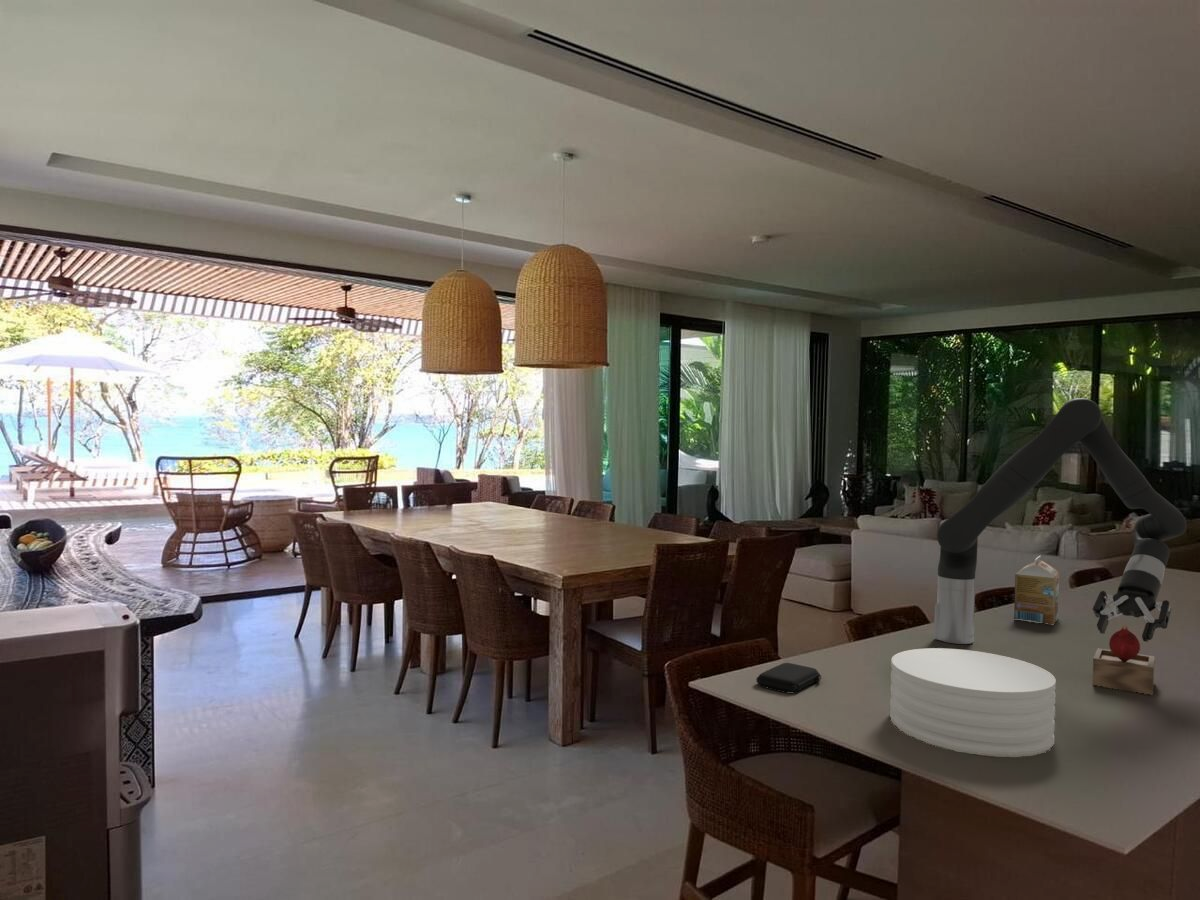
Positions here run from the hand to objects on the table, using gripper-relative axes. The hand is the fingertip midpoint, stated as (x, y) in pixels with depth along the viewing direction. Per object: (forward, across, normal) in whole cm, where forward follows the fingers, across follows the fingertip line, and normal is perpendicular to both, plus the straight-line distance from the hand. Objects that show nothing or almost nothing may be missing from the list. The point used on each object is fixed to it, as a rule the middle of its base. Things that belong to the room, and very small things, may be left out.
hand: (1122, 635), depth 178 cm
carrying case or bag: (+50, -45, -34) cm, 75 cm away
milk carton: (-29, -40, +45) cm, 67 cm away
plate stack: (+46, -8, -30) cm, 56 cm away
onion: (+3, 0, +6) cm, 7 cm away
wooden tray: (+7, 0, +9) cm, 11 cm away
